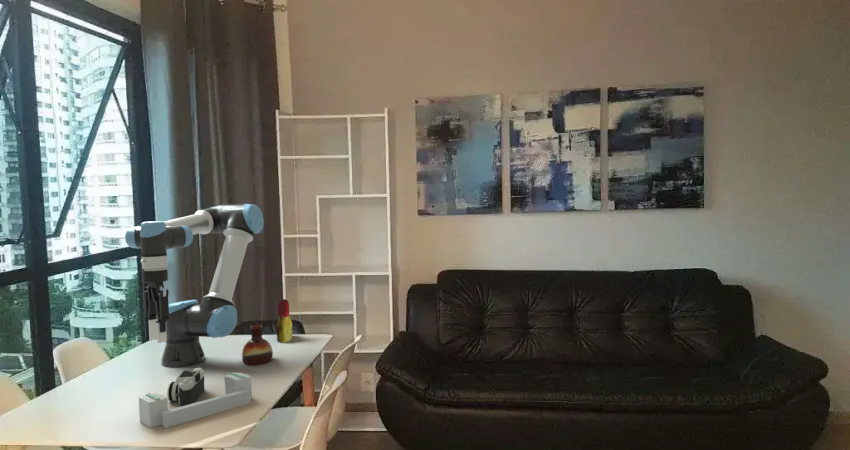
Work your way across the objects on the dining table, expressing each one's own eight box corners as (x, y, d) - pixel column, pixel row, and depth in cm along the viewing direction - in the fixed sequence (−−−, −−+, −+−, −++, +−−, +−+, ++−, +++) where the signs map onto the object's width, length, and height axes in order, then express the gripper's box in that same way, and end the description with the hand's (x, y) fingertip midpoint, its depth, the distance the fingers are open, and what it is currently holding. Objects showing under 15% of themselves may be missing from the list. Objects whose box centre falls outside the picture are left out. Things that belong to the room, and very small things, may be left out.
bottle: (289, 349, 248) (287, 301, 247) (273, 350, 248) (272, 301, 247) (295, 342, 260) (293, 296, 259) (280, 343, 260) (278, 297, 259)
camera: (181, 393, 195) (179, 362, 194) (208, 391, 195) (207, 361, 195) (163, 410, 179) (161, 376, 179) (193, 408, 180) (191, 375, 179)
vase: (245, 372, 217) (243, 329, 216) (239, 364, 227) (238, 324, 226) (276, 367, 222) (274, 325, 221) (269, 360, 232) (267, 320, 231)
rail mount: (139, 422, 169) (138, 395, 169) (240, 394, 192) (239, 370, 191) (155, 431, 162) (154, 403, 162) (258, 401, 185) (257, 376, 184)
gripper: (131, 268, 198) (134, 338, 199) (155, 272, 186) (158, 347, 186) (154, 266, 204) (157, 334, 204) (179, 269, 191) (182, 342, 192)
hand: (158, 340), depth 195 cm, fingers open, 5 cm apart
